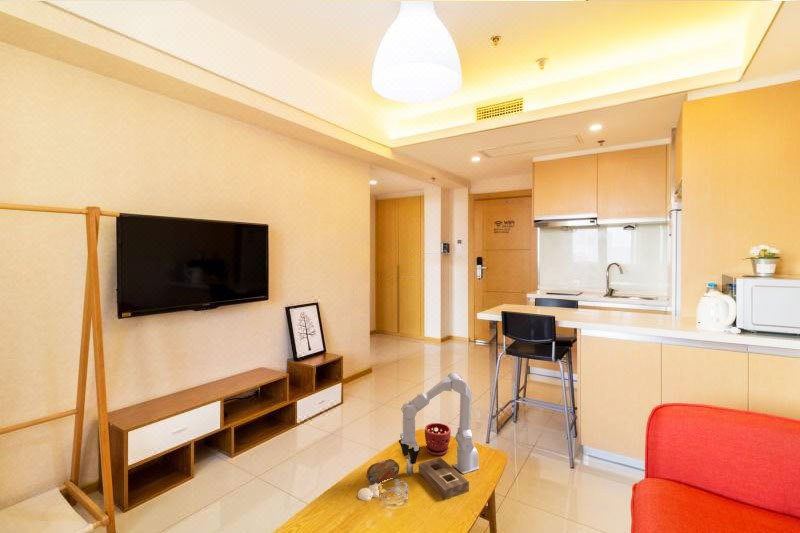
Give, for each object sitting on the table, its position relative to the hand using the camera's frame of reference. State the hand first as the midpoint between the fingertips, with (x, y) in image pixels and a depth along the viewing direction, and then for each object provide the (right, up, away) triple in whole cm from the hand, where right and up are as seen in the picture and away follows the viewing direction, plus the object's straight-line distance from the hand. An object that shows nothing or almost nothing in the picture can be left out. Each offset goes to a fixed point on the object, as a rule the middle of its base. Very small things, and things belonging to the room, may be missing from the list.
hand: (409, 459), depth 170 cm
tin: (-12, -7, -5) cm, 15 cm away
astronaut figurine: (-16, -8, -13) cm, 22 cm away
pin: (0, -7, 0) cm, 7 cm away
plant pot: (+15, -6, +20) cm, 26 cm away
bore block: (+14, -6, -6) cm, 17 cm away
